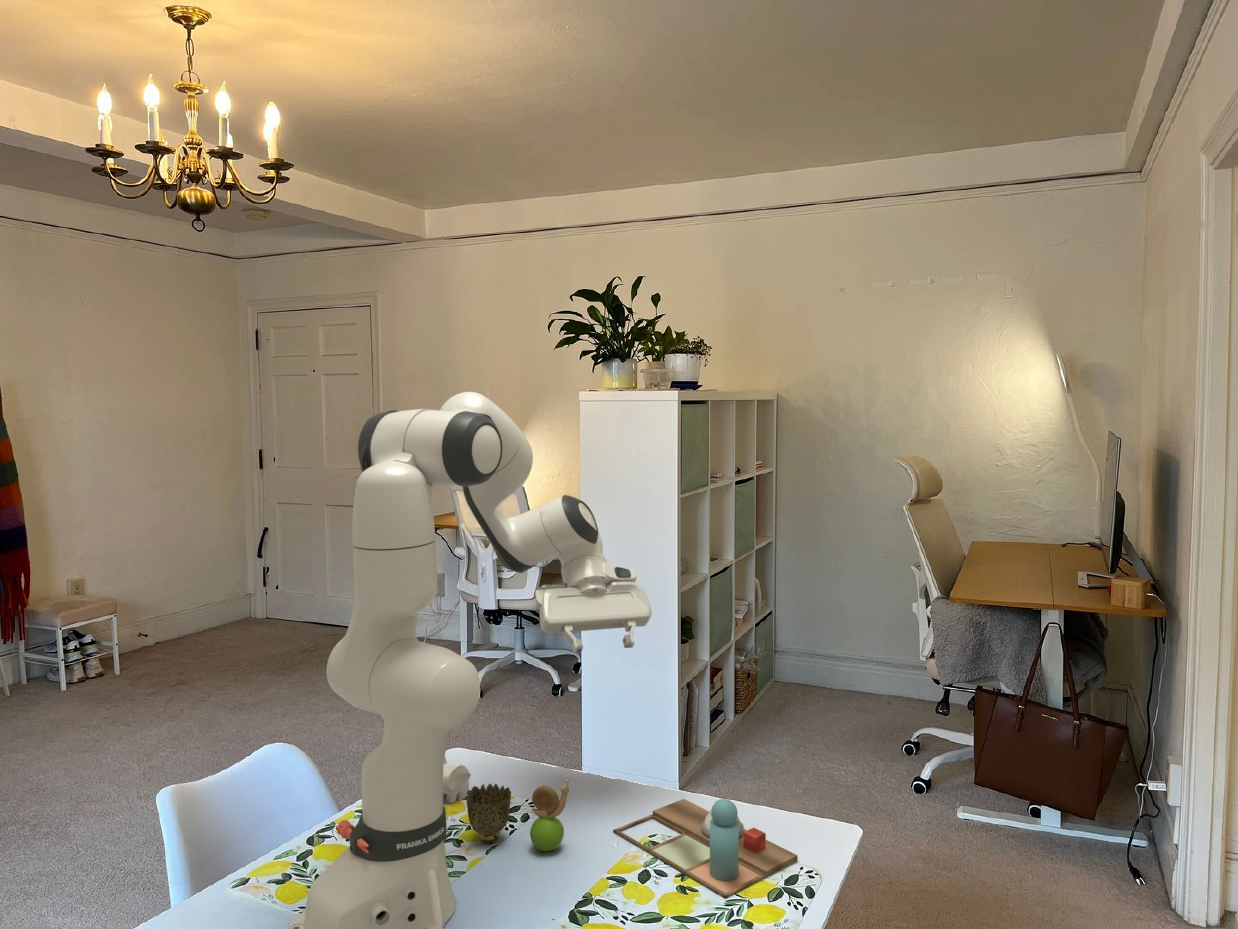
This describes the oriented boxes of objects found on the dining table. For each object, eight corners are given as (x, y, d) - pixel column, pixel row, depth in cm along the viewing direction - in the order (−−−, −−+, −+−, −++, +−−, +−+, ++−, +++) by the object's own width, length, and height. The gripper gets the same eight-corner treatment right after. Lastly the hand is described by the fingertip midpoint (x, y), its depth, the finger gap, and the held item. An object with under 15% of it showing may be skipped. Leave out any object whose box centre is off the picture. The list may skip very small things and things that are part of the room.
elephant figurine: (412, 800, 158) (412, 762, 157) (456, 784, 164) (456, 748, 164) (436, 814, 152) (435, 775, 152) (480, 797, 159) (480, 759, 159)
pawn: (724, 884, 129) (724, 809, 129) (703, 872, 133) (703, 799, 132) (744, 874, 132) (745, 801, 132) (723, 863, 136) (723, 791, 135)
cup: (507, 851, 139) (507, 803, 139) (462, 850, 140) (461, 802, 139) (514, 829, 147) (514, 783, 146) (471, 828, 147) (470, 782, 147)
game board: (725, 905, 126) (725, 865, 126) (613, 838, 146) (613, 803, 146) (797, 867, 137) (798, 830, 136) (683, 809, 157) (683, 777, 156)
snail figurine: (564, 860, 137) (564, 786, 136) (526, 855, 138) (525, 782, 137) (573, 843, 142) (573, 772, 141) (535, 839, 144) (535, 768, 143)
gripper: (535, 575, 154) (549, 643, 145) (643, 569, 161) (662, 634, 152) (529, 595, 158) (543, 662, 150) (634, 589, 165) (653, 653, 156)
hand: (604, 648), depth 151 cm, fingers open, 8 cm apart
